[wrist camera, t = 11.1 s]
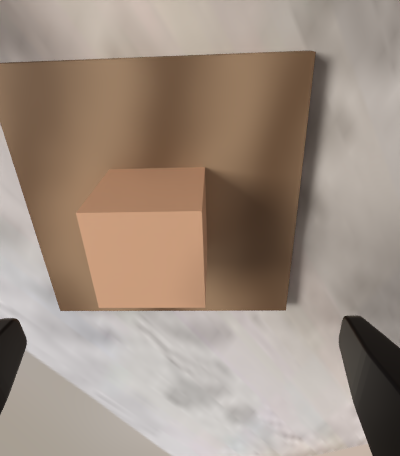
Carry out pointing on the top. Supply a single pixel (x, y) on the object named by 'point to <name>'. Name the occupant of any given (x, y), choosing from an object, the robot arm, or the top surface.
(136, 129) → the walnut board
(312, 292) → the top surface
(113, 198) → the terracotta cube
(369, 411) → the robot arm
